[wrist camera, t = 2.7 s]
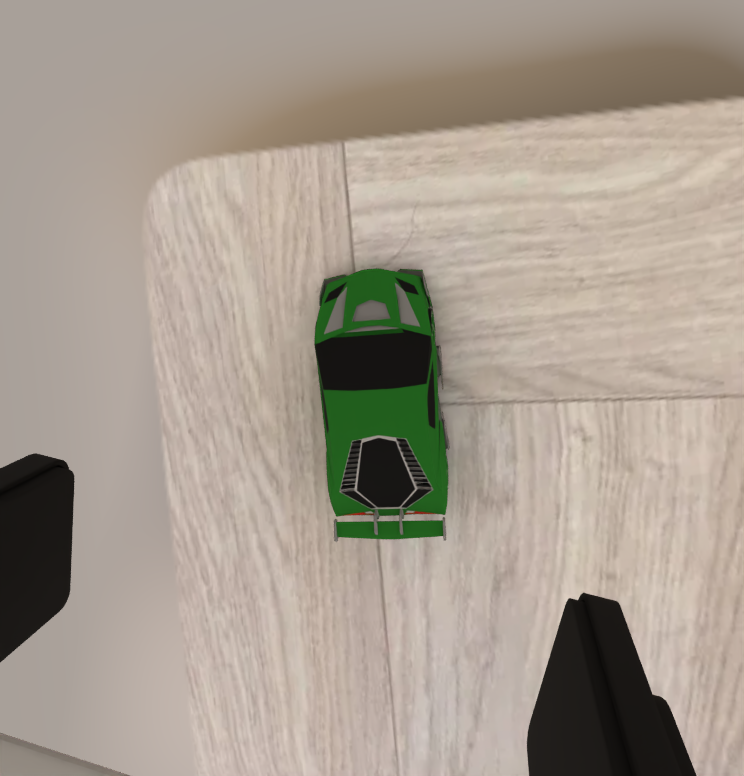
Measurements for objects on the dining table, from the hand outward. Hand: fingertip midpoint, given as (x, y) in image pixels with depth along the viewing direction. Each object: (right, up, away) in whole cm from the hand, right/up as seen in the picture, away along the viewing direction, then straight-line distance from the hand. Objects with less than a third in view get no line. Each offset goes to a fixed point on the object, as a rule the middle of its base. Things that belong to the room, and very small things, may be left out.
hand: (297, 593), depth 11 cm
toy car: (+2, +3, +13) cm, 13 cm away
